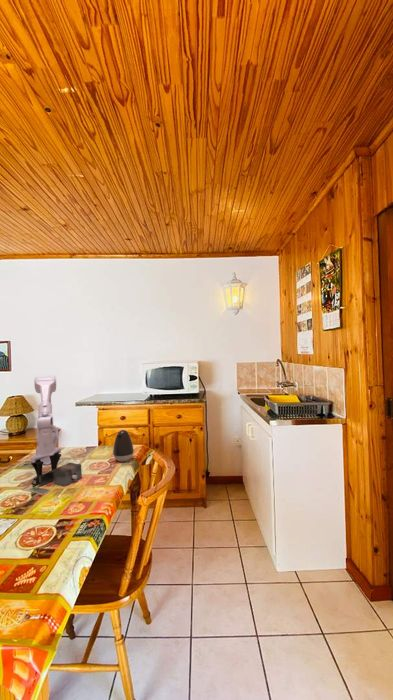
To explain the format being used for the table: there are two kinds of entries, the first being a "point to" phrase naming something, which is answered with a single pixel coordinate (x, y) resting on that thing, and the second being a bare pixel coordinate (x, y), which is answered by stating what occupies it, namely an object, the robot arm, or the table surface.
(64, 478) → the gauge frame
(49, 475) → the gauge plunger
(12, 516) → the table surface
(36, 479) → the electric trimmer
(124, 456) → the black egg-shaped speaker
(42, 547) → the table surface
